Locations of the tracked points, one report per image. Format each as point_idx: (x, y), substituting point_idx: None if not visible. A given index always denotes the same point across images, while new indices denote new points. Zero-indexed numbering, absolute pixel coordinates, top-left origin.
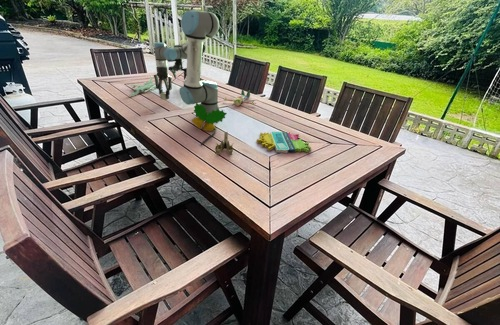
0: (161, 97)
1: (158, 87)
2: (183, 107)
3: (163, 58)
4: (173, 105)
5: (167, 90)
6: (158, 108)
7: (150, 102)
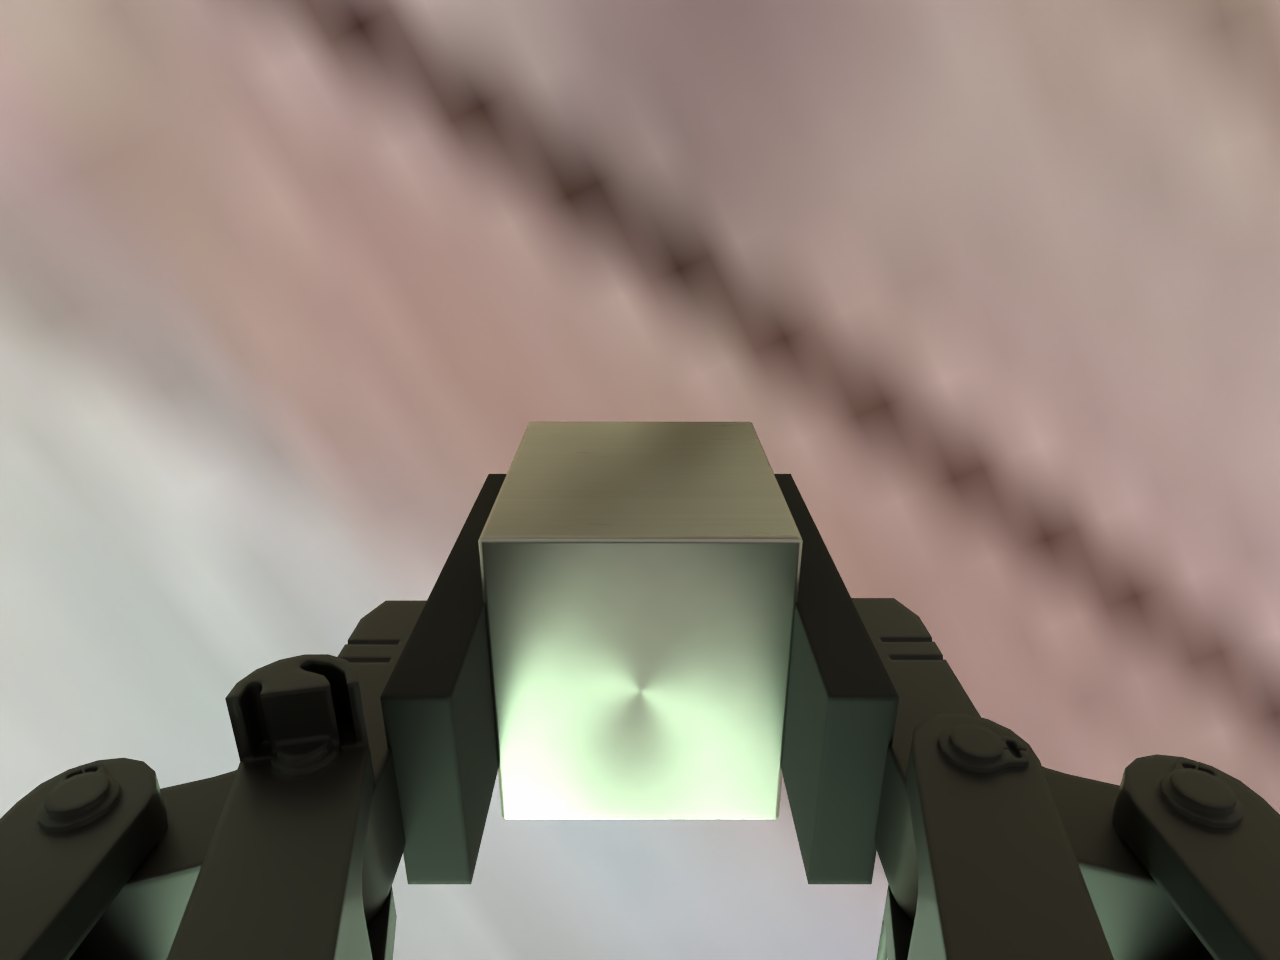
0: (729, 449)
1: (1089, 884)
2: (57, 458)
3: None
4: (420, 513)
5: (262, 695)
6: (680, 30)
7: (1173, 508)
